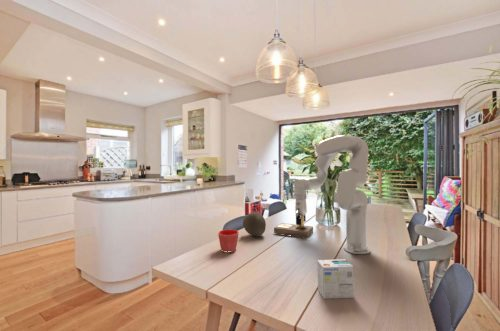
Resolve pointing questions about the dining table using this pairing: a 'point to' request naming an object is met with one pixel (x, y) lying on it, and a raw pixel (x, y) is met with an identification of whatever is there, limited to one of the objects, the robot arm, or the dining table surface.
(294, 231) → the brown flat wooden block
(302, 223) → the brass peg
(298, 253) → the dining table surface
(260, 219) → the cantaloupe
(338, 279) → the light bulb box
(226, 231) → the flower pot
